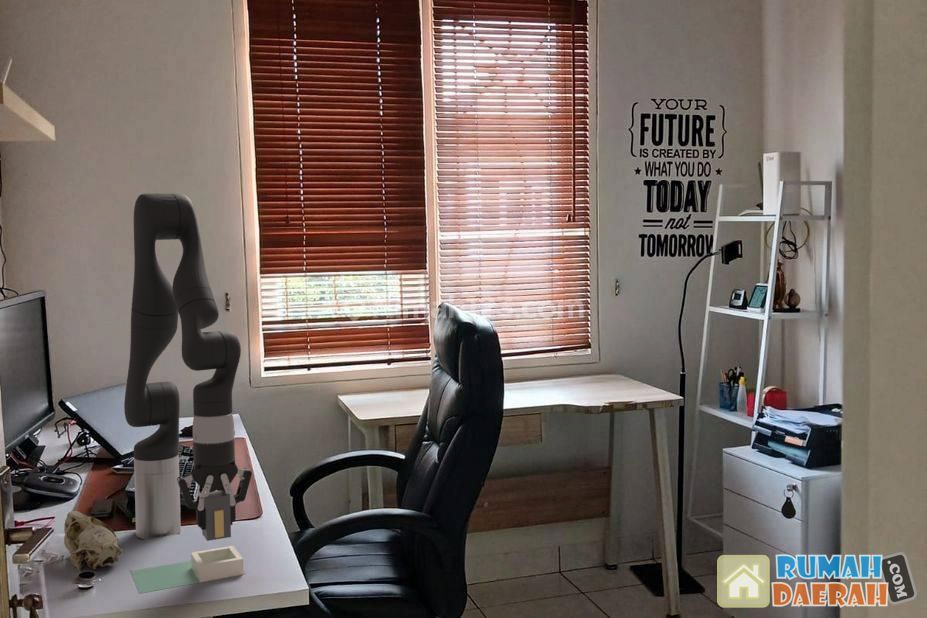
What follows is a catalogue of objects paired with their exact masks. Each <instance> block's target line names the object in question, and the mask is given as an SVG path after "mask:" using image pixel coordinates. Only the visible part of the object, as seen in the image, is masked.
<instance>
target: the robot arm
mask: <svg viewBox="0 0 927 618" xmlns="http://www.w3.org/2000/svg"><path fill="white" fill-rule="evenodd" d="M197 217H198V216H197V214H196V210H195V207H194V205H193V202H192V200H191V199H190V197H188V196H187V195H186V194H183V193H182V194H181V193H141V194H139V195H138V196H137V198H136V200H135V202H134V208H133V248H134V249H133V251H134V252H133V253H134V262H133V263H134V266H133V267H134V268H133V285H132V286H133V287H132V299H131V309H130V311H131V313H130V346H129V349H130V350H129V361H128V371H127V378H126V384H125V385H126V386H125V394H124V402H123V403H124V409H123V411H124V416H125V420H126V423H127V424H128V425H129V426H130V427H133V428H142V427H151V426H159V427H158V429H157V430H156V431H154V433H152V434H150V435H149V436H148V437H146V438H143V439H142V440H139V441H137V443H135V445H134V446H133V471H134V476H133V477H134V501H135V505H134V506H135V536H136V537H137V538H139V539H143V540H150V539H155V538H162V537H167V536H168V537H169V536H175V535H178V534H179V533H180V532H181V527H182V525H181V495H182V498H183V502H184V504H185V505H186V507H187V508H188V509H189V510H195V514H196V515H195V518H196V519H195V522H196V525H197V526H198V528H200V529H201V531H202V530H205V528H206V527H205V510H204V507H205V498H208V495H209V492H213V491H224V493H225V494H226V495H230V516H231V526H233V522H235V521H236V516H237V514H236V506H237V504H239V503H240V502H244V501H245V499H246V497H247V493H248V490H249V486H250V483H251V478H252V475H253V473H252V471H251V470H250V469H249V468H247V467H245V468H239V467H238V465H236V451H235V449H236V447H235V446H236V445H235V441H236V440H235V436H236V430H235V421H234V415H233V414H234V413H233V389H234V384H235V379H236V375H237V371H238V367H239V363H240V359H241V353H242V349H241V348H242V347H241V343H240V340H239V338H238V336H237V335H236V334H235V333H234V332H232V331H230V330H217V331H206V332H205V331H204V332H202V330H204V329H206V328H208V327H211V326H212V325H214V324H215V323H216V322H217V321H218V319H219V315H220V314H219V310H218V305H217V303H216V300H215V297H214V294H213V291H212V288H211V285H210V282H209V279H208V275H207V270H206V265H205V259H204V252H203V247H202V241H201V235H200V234H201V233H200V228H199V223H198V219H197ZM162 240H163V241H165V240H166V241H170V240H179V241H180V243H181V246H182V256H181V259H180V261H179V265H178V267H177V269H176V271H175V274H174V277H173V281H172V283H171V282H170V281H169V279H168V278H167V276H166V275H165V273H164V271H163V270H162V268H161V266H160V263H159V262H158V259H157V258H158V257H157V255H156V241H162ZM179 319H180V325H181V357H182V361H183V362H184V364H185V365H186V366H187V368H189V369H190V370H192V371H196V372H197V371H198V372H199V371H209V370H215V371H214V374H213V375H212V377H211V378H209V379H207V380H205V381H202V382H200V383H197V384H195V386H194V388H193V389H192V400H193V403H192V404H193V421H192V449H193V451H192V453H193V458H192V459H193V467H192V469H191V472H190V473H189V474H186V475H184V476H181V475H180V459H179V458H180V455H179V450H180V449H179V445H180V411H181V410H180V404H181V403H180V401H181V400H180V394H179V390H178V387H177V385H176V384H175V383H174V382H173V381H158V382H147V381H148V378H149V375H150V372H151V370H152V368H153V366H154V364H155V363H156V362H157V360H158V358H159V357H160V356H161V355H162V353H163V352H164V351H165V350H166V349H167V347H168V346H169V345H170V343H171V342H172V340H173V338H174V337H175V336H176V333H177V330H178V324H179V322H178V321H179ZM236 476H237V478H238V480H239V483H238V487H237V489H236V493H235V494H234V493H233V489H232V486H231V483H232V482H233V480H234V479H235V477H236ZM192 481H194V482H195V483H196V484H197V485H198V490H197V494H196V495H197V496H196V499H195V500H193V498H192V495H191V493H190V492H191V491H190V490H189V488H190V487H191V486H192Z"/></svg>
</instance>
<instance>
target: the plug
mask: <svg viewBox="0 0 927 618" xmlns="http://www.w3.org/2000/svg"><path fill="white" fill-rule="evenodd" d="M204 510H205V527H206V528H205V530H202V529H201V533H202V534H201V535H202V536H203V537H204V539H206V541H207V542H209V541H216V540H221V539H227V538H228V539H229V538H231V537H232V529H231V528H232V527H231V526H232V525H231V516H230V495H226V494H225V493H224V491H218V490H216V491H213V492H209V495H208V498H205V507H204Z"/></svg>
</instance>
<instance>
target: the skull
mask: <svg viewBox="0 0 927 618" xmlns="http://www.w3.org/2000/svg"><path fill="white" fill-rule="evenodd" d="M63 529H64V539H63V541H64V542H63V544H64V546H65V548H66V549H67V551H68V552H69V553H70V556H69V560H70V563H71V564H72V565H73V566H74V567H75V568H77V571H78V572H83V571H82V568H83V566H85V564H86V565H87V566H88V567H89V568H92V569H93V570H96V568H97V567H98V566H99V567H101V568H103V567H106V566H107V565H113V564H114V563H116V562H117V563H118V562H119V556H120V555H121V554H122V552H123V551H124V550H123V549H122V548H120V547H119V546H118V541H119V538H118V536H117V535H116V533H115V532H114V530H113V529H112V527H111V526H109V525H107V524H106V523H104V522H103V521H101V520H100V519H97V518H95V517H93V516H88V515H86V514H83V512H80V511H76V510H72V511H69V512H67V515H66V517H65V519H64V526H63Z"/></svg>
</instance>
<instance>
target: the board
mask: <svg viewBox="0 0 927 618" xmlns="http://www.w3.org/2000/svg"><path fill="white" fill-rule="evenodd" d="M130 573H131V576H132V578H133V581H134V584H135V586H136V589H137V591H138V594H139V595H140V594H145V593H151V592H156V591H161V590H167V589H172V588H179V587H182V586H183V587H185V586H189V585H194V584H200V583H201V582H199V580H198V578H197V577H196V575H195V573H194V571H193V570H192V567H191V560H187V561H181V562H175V563H170V564H163V565H158V566H152V567H147V568H140V569H135V570H131V571H130ZM246 574H247V573H246V572H245V571H244V569H243V574H242V575H241V576H244V575H246ZM238 576H239V575H237V576H236V577H238ZM232 577H234V576H232ZM232 577H231V578H232ZM227 578H229V577H226V578H225V579H227ZM221 579H223V578H221ZM221 579H220V580H221ZM215 580H218V579H215ZM215 580H214V581H215ZM211 581H212V580H210V581H209V582H211ZM205 582H207V581H204V582H203V583H205Z"/></svg>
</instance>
